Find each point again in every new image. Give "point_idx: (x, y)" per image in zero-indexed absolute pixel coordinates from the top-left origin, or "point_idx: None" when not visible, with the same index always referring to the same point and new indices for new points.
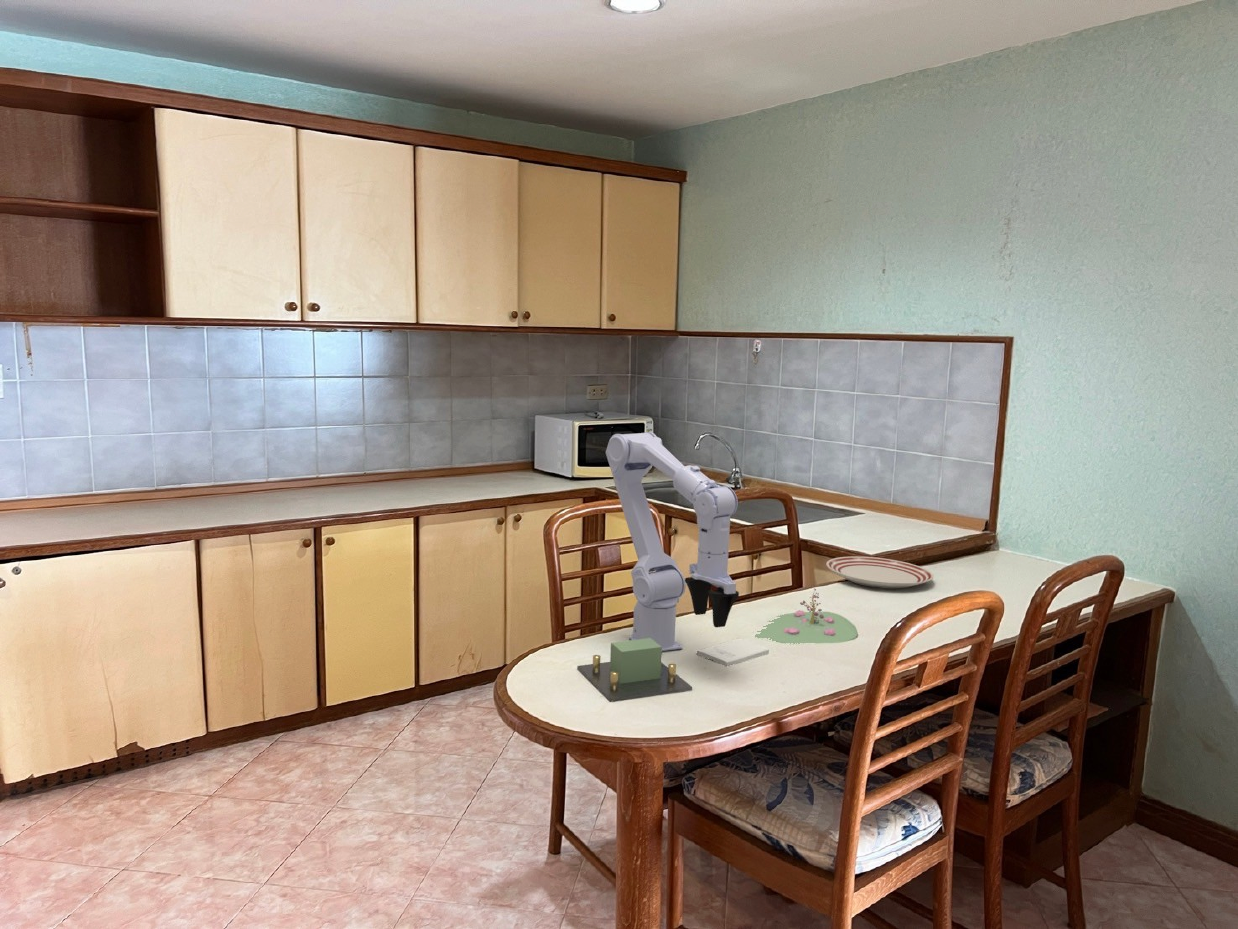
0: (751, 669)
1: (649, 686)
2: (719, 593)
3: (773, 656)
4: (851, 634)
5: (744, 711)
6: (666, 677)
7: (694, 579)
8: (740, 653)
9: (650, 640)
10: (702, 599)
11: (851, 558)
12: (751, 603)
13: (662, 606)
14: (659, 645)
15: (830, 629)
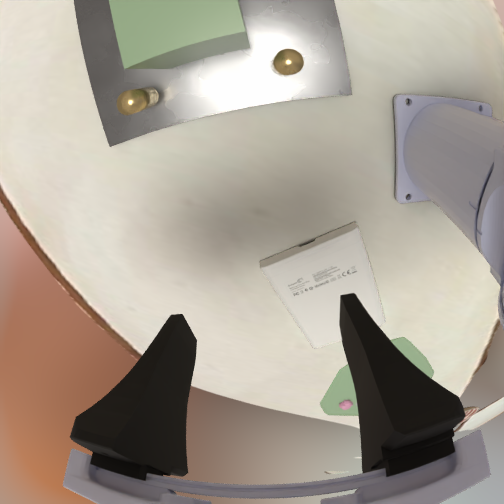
0: (237, 299)
1: (115, 38)
2: (85, 447)
3: (296, 344)
4: (333, 413)
5: (44, 225)
6: (172, 86)
7: (406, 445)
8: (304, 307)
9: (209, 27)
10: (357, 368)
11: (470, 415)
12: (479, 351)
13: (487, 196)
14: (140, 59)
15: (345, 408)
